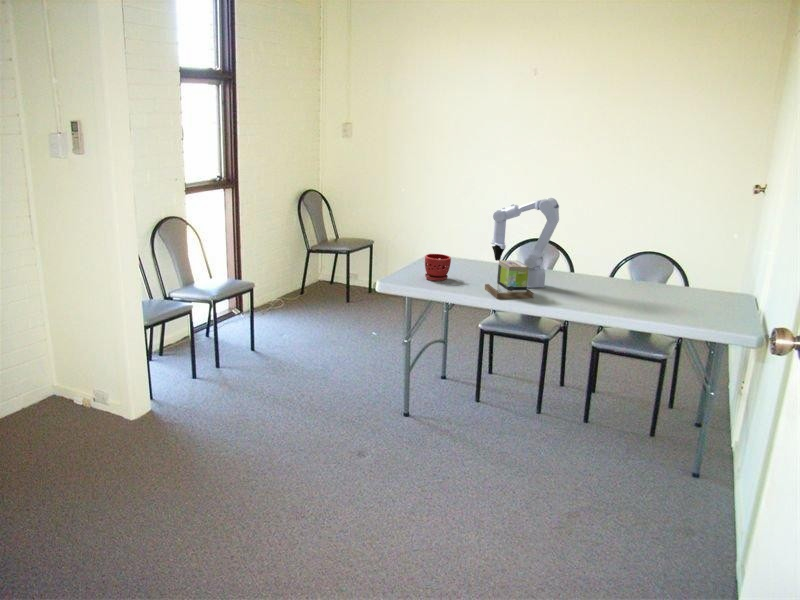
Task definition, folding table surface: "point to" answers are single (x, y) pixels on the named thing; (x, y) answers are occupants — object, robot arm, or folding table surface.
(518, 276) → the tea box
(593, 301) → the folding table surface
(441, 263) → the plant pot
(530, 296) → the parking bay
